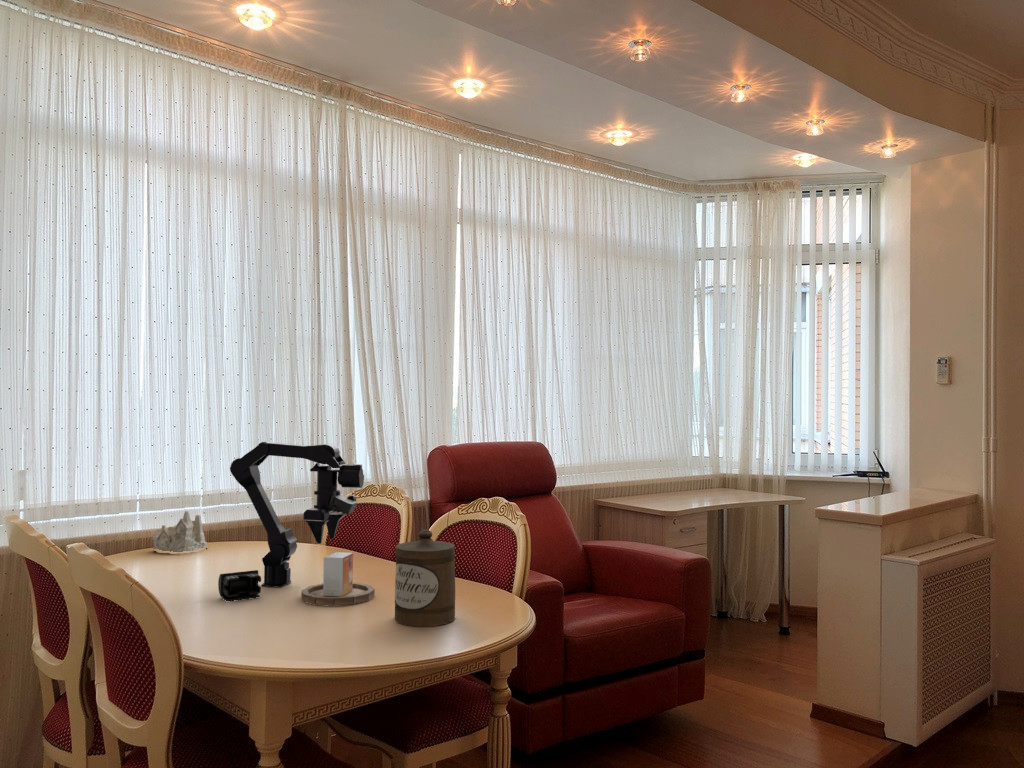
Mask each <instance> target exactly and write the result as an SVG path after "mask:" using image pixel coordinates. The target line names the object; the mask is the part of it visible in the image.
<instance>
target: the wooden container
mask: <svg viewBox="0 0 1024 768" xmlns="http://www.w3.org/2000/svg"><path fill="white" fill-rule="evenodd" d="M417 535H418V537H419V539H417V540H416V541H407V542H402V543H398V544H396V545H395V578H394V579H395V583H394V620H395V622H397V623H398V624H400V625H404V626H408V627H416V628H418V627H420V628H422V627H423V628H424V627H425V628H426V627H437V626H442V625H447V624H450V623H451V622H453V621H455V618H456V569H455V566H456V565H455V558H456V557H455V555H456V554H455V553H456V552H455V551H456V549H455V548H456V547H455V544H454V543H452V542H449V541H448V542H446V541H442V540H441V541H440V540H433V532H432V531H431V530H430V529H425V528H423V529H422V530H421V531H419V532H418V534H417Z"/></svg>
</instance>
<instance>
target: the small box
mask: <svg viewBox="0 0 1024 768" xmlns="http://www.w3.org/2000/svg"><path fill="white" fill-rule="evenodd" d="M353 575H354V553H353V552H342V551H341V552H339V551H337V552H336V551H335V552H333V553H331V554H329V555H327V556H324V557H323V579H322V580H323V582H322V583H323V596H340V597H342V596H344V595H345V594H347V593H349V592H351V591H352V583H354V581H353V579H354V578H353V577H354V576H353Z"/></svg>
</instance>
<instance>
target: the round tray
mask: <svg viewBox="0 0 1024 768" xmlns="http://www.w3.org/2000/svg"><path fill="white" fill-rule="evenodd" d="M375 592H376V591H375V588H374V587H373V586H372V585H370V584H366V583H363V582H362V583H361V582H353V583H352V591H351V592H349V593H347V594H345V595H344V596H342V597H340V596H323V582H322V583H318V584H313V585H309V586H307V587H305V588H302V589H301V595H300V596H301V597H302V598H301V600H302V599H303V600H302V602H303V601H304V602H303V603H305V602H308V603H307V604H309V603H311V604H310V605H313V604H315V605H314V606H321V605H328V606H327V607H337V606H336V605H343V606H349V605H348V604H353V605H357V604H356V603H358V604H361V603H360V602H363V603H366V602H365V601H367V602H369V601H370V599H371V600H372V599H374V598H375ZM334 605H335V606H334Z"/></svg>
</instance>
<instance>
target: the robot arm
mask: <svg viewBox="0 0 1024 768" xmlns="http://www.w3.org/2000/svg"><path fill="white" fill-rule="evenodd" d="M340 454H341V452H340V449H339V447H338V445H336V444H334V443H322V444H311V445H305V444H292V443H281V442H271V441H268V440H267V441H262V442H260V443H258V444H257V445H256V446H255V447H254V448H253V449H251V450H249V452H247V453H245V454H244V455H243V456H241V457H239V458H238V457H237V458H235V459H234V460H233V461H232V462H231V463H230V467H229V471H230V473H231V475H232V476H233V478H234V480H236V482H237V483H238V484H239V485H240V486H241V487H242V488H243V489H244V490H245V491H246V493H247V495H248V497H249V499H250V501H251V503H252V505H253V507H254V509H255V511H256V513H257V515H258V517H259V519H260V521H261V523H262V526H263V528H264V530H265V532H266V535H267V536H266V537H267V545H268V549H269V551H268V553H266V554H265V555H264V556H263V557H262V558H261V561H262V563H263V566H264V567H263V569H264V570H263V574H264V575H263V583H261V587H274V586H278V587H279V588H282V586H283V587H285V586H286V584H287V585H289V584H291V583H292V580H291V570H292V569H291V567H290V562H289V561H290V559H291V557H292V555H294V554H295V553H296V550H297V548H298V544H297V541H298V539H297V538H296V537H295V535H294V532H293V529H292V528H288V529H286V528H285V527H284V526H283V525H282V523H281V521H280V519H279V516H277V513H276V511H275V510H274V507H273V505H272V503H271V501H270V499H269V497H268V495H267V493H266V491H265V489H264V487H263V485H262V483H261V472H260V468H259V467H260V465H261V464H262V463H264V462H265V461H266V459H267V458H268V457H270V456H271V457H272V456H273V457H274V456H275V457H284V458H293V459H295V458H296V459H305V460H308V461H311V462H313V463H315V464H314V466H313V467H311V468H310V469H309V471H310V472H315V473H317V474H316V477H317V480H316V490H315V491H313V492H314V493H313V495H314V496H315V495H316V504H315V505H313V507H312V508H308V509H306V510H304V512H303V519H302V520H305V523H307V525H308V527H309V529H310V530H311V531H310V532H311V533H312V535H313V538H314V540H315V541H316V543H317V545H319V544H320V545H321V544H322V541H323V536H324V529H325V526H326V528H327V533H328V536H329V538H330V540H331V539H335V536H336V534H337V533H336V532H337V529H338V527H339V523H340V521H341V519H342V518H343V517H345V516H346V515H350V514H353V513H354V511H355V508H356V507H358V501H357V497H356V496H355V495H354V494H351V495H349V496H347V497H346V496H342V495H341V490H340V489H338V485H339V486H341V488H346V489H347V488H348V489H349V488H350V489H351V488H352V489H353V488H354V489H362V488H363V487H364V482H365V481H364V480H365V474H364V470H363V464H359V463H358V464H347V463H346V461H345V460H344V458H343V457H342V456H341V455H340ZM290 582H291V583H290ZM288 583H289V584H288Z"/></svg>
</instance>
